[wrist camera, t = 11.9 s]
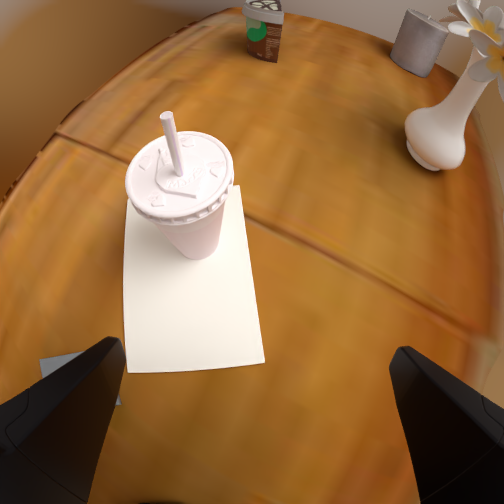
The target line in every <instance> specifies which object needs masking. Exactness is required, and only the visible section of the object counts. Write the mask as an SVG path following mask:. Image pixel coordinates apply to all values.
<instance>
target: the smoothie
mask: <svg viewBox="0 0 504 504" xmlns="http://www.w3.org/2000/svg"><path fill="white" fill-rule="evenodd" d="M160 118H161V122H162V126H163V130H164V133H165V135H164V136H162V137H159V138H157V139H155V140H154V141H152V142H150V143H149V144H147V145H146V146H145V147H144V148H142V149H141V150H140V151H139V152H138V153H137V154H136V156H135V157H134V158H133V160H132V161H131V163H130V165H129V167H128V170H127V173H126V178H125V186H126V191H127V194H128V197H129V198H130V201H131V204H132V205H133V207H134V208H135V210H136V211H137V213H138V214H140V215H141V216H142V217H144V218H145V219H146V220H148V221H150V222H153V223H154V224H155V225H156V226H157V227H158V228H159V229H160V231H161V232H162V233H163V234H164V235H165V236H166V237H167V238H168V239H169V240H170V242H171V243H172V244H173V245H174V246H175V247H176V248H177V249H178V250H179V251H180V252H181V253H182V254H183V255H184V256H185V257H187V258H189V259H193V260H201V259H205V258H207V257H209V256H210V255H212V254H213V253H214V252H215V250H216V249H217V247H218V244H219V238H220V231H221V225H222V218H223V212H224V205H225V200H226V199H227V197H228V195H229V193H230V191H231V189H232V187H233V180H234V171H233V162H232V158H231V155H230V153H229V151H228V149H227V148H226V147H225V146H224V144H223V143H221V142H220V141H219V140H217V139H216V138H214V137H212V136H210V135H207V134H204V133H200V132H192V131H183V132H176V127H175V123H174V118H173V113H172V112H170V111H167V112H164V113H162V114H161V115H160Z"/></svg>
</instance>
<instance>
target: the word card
mask: <svg viewBox="0 0 504 504" xmlns="http://www.w3.org/2000/svg"><path fill="white" fill-rule="evenodd" d="M83 352H84V351H83ZM83 352H78V353H73V354H68V355H62V356H57V357H51V358H45V359H39V361H40V366H41V371H42V376H43V378H44V377H46V376H47V375H49V374H50V373H52V372H54V371H55V370H57V369H58V368H60V367H61V366H63V365H64V364H66V363H67V362H69V361H70V360H72V359H73V358H75V357H76V356H78V355H79V354H81V353H83ZM121 404H122V403H121V400H120V397H119V394H118V398H117V402H116V405H121Z"/></svg>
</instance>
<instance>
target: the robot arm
mask: <svg viewBox="0 0 504 504" xmlns="http://www.w3.org/2000/svg"><path fill="white" fill-rule="evenodd" d="M125 363H126V356H125V353H124V349H123V346H122V342H121V340H120V339H119V338H117V337H111V336H108V337H106V338H104V339H103V340H101V341H99V342H98V343H96V344H95V345H93V346H92V347H90V348H89V349H87V350H86V351H84V352H83V353H81V354H79V355H78V356H76V357H75V358H73V359H72V360H70V361H69V362H67V363H66V364H64V365H63V366H61V367H60V368H58V369H57V370H55V371H54V372H52V373H50V374H49V375H47V376H46V377H44V378H43V379H41V380H40V381H38V382H37V383H35V384H34V385H32V386H31V387H30V389H29V388H28V389H26V390H25V391H23V392H22V393H20V394H18V395H17V396H15V397H14V398H12V399H10V400H9V401H7V402H5V403H3V404H1V405H0V504H87V502H88V498H89V494H90V489H91V485H92V481H93V478H94V474H95V470H96V466H97V463H98V459H99V456H100V452H101V449H102V446H103V442H104V439H105V436H106V433H107V429H108V426H109V423H110V420H111V417H112V414H113V411H114V408H115V405H116V402H117V398H118V393H119V389H120V384H121V380H122V376H123V372H124V367H125ZM389 371H390V376H391V380H392V385H393V390H394V395H395V400H396V405H397V409H398V412H399V416H400V419H401V423H402V426H403V430H404V433H405V437H406V441H407V444H408V448H409V452H410V456H411V460H412V464H413V469H414V473H415V478H416V482H417V487H418V492H419V497H420V501H421V502H420V504H504V409H503V408H501V407H500V406H498V405H496V404H495V403H493V402H492V401H490V400H489V399H487V398H486V397H484V396H483V395H481V394H480V393H479V392H477V391H476V390H474V389H473V388H471V387H470V386H468V385H467V384H465V383H464V382H462V381H461V380H459V379H458V378H456V377H455V376H453V375H452V374H450V373H449V372H448V371H446V370H445V369H443V368H442V367H440V366H439V365H437V364H436V363H434V362H433V361H431V360H430V359H428V358H427V357H425V356H424V355H422V354H421V353H419V352H418V351H416V350H415V349H413V348H412V347H410V346H401V347H399V348H398V349H397V350H396V352H395V354H394V356H393V358H392V360H391V362H390V366H389ZM140 504H148V503H140Z"/></svg>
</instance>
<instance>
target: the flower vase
mask: <svg viewBox="0 0 504 504" xmlns="http://www.w3.org/2000/svg"><path fill="white" fill-rule="evenodd" d="M479 4H480V0H479V1H478V0H469V2H467V1H464V0H457V1H456V3H455V4H452V5H450V6H449V7H448V10H449V11H450V12H451V13H453V14H454V15H456V16H457V17H456V16H448V17H445V18H443V19H441V20H440V21H439V22H452V23H450V24H449V25H448V29H449V31H451V32H452V33H455V34H457V35H460V36H465V37H470V40H471V41H472V43H473V51H472V54H471V57H470V60H469V63H468V65H467V67H466V69H465V71H464V73H463V75H462V76H461V78H460V79H459V81H458V82H457V84H456V85H455V87H454V88H453V90H452V91H451V92H450V94H449V95H448V96H447V97H446V98H445V99H444V100H443V101H442V102H441V103H439V104H437V105H435V106H433V107H426V108H419V109H416V110H414V111H413V112H412V113H410V114H409V115H408V116H407V118H406V121H405V134H406V137H407V142H406V143H407V148H408V151H409V153H410V154H411V156H412V157H413V158H414V159H415V160H416V161H417V162H418V163H419V164H420V165H421V166H423V167H424V168H426V169H428V170H432V171H438V170H440V169H443V170H451V169H454V168H456V167H458V166H460V164H461V162H462V161H463V159H464V156H465V140H464V129H465V124H466V121H467V118H468V116H469V114H470V112H471V110H472V108H473V107H474V105H475V103H476V102H477V100H478V98H479V97H480V95H481V93H482V92H483V90H484V89H485V87H486V86H487V84H488V83H489V82H490V81H492V80H494V79H495V78H496V77H497V75H498V87H499V92H500V96H501V98H502V100H503V102H504V13H503V12H502V10H501V9H500V8H499V7H497V6H491V7H489V8H488V9H486V10H485V12H484V14H483V13H482V12H481V11H480V10H479V9H478V8H479ZM482 19H483V21H482ZM469 24H470V25H469Z"/></svg>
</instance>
